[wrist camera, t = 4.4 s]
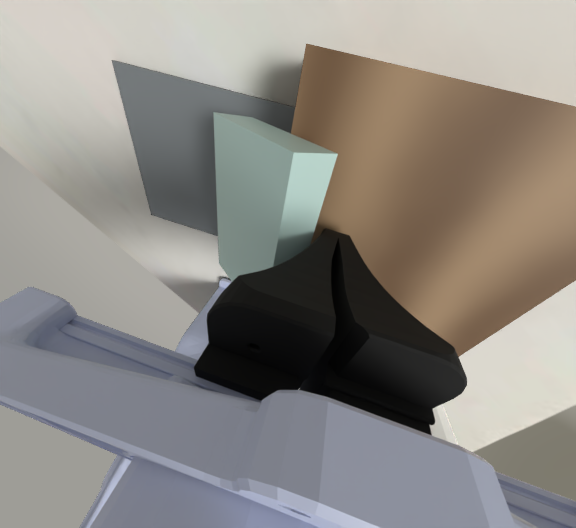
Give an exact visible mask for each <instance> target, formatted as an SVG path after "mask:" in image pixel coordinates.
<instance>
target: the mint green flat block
mask: <svg viewBox="0 0 576 528" xmlns="http://www.w3.org/2000/svg"><path fill="white" fill-rule="evenodd" d="M213 115H214V142H215V169H216V196H217V223H218V250H219V264H220V265H221V267H222V268H223V269H224V271H225V272H226V274H227V275H228V277H229V278H230V280H231V281H233V280H234V279H235V278H237V277H238V276H239V275H244V274H248V273H253V272H258V271H262V270H265V269H268V268H271V267H274V266H276V265H279V264H281V263H283V262H285V261H287V260H289V259H291V258H293V257H294V256H296V255H298V254H299V253H300V252H302V251H303V250H304V249H306V248H307V247H308V246H309V245H310V244H311V241H312V237H313V234H314V231H315V227H316V224H317V221H318V218H319V214H320V211H321V208H322V204H323V201H324V198H325V195H326V191H327V188H328V185H329V181H330V178H331V175H332V172H333V168H334V165H335V162H336V158H337V155H338V154H337V153H335V152H333V151H330V150H328V149H326V148H323V147H321V146H319V145H316V144H314V143H311V142H309V141H307V140H304V139H302V138H300V137H297V136H295V135H293V134H290V133H288V132H286V131H283V130H281V129H279V128H276V127H274V126H272V125H269V124H267V123H265V122H262V121H260V120H258V119H255V118H253V117H247V116H239V115H232V114H224V113H216V112H213Z"/></svg>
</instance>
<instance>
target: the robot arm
mask: <svg viewBox="0 0 576 528" xmlns="http://www.w3.org/2000/svg"><path fill="white" fill-rule="evenodd" d="M466 386H467V377H466V375H465V373H464V370H463V368H462V365H461V363H460V360H459V358H458V355H457V353H456V350H455V348H454V347H453V346H452V345H451V344H449V343H448V342H447V341H445V340H444V339H442V338H441V337H440V336H438V335H437V334H436V333H434V332H433V331H432V330H430V329H429V328H427V327H426V326H425V325H424V324H422V323H421V322H420V321H419V320H417V319H416V318H415V317H414V316H413V315H411V314H410V313H409V312H408V311H407V310H406V309H405V308H403V307H402V306H401V305H400V304H399V303H398V302H397V301H396V300H395V299H394V298H393V297H392V296H391V295H390V294H389V293H388V292H387V291H386V290H385V289H384V287H383V286H382V285H381V284H380V283H379V281H378V280H377V279H376V278H375V277H374V275H373V274H372V273H371V271H370V270H369V268H368V267H367V265H366V264H365V262H364V261H363V259H362V257H361V256H360V254H359V252H358V250H357V249H356V247H355V245H354V243H353V241H352V239H351V237H350V235H347V234H343V233H340V232H337V231H334V230H330V229H327V228H325V229H323V231H322V233H321V234H320V236H319V237H318V238H317V239H316V240H315V241H314V242H313V243H312V244H311V245H309V246H308V247H307V248H306V249H304V250H303V251H302V252H300V253H299V254H298V255H296V256H294V257H293V258H291V259H289V260H287V261H285V262H283V263H281V264H279V265H276V266H274V267H271V268H268V269H265V270H262V271H258V272H253V273H248V274H244V275H239V276H238V277H237V278H235V279H234V280H233V281H231V280H228V279H225V278H222V279H221V280H220V281H219V288H218V289H217V290H216V292H215V293H214V294H213V296H212V297H211V298H210V300H209V301H208V302H207V304H206V305H205V306H204V308H203V309H202V310H201V312H200V313H199V314H198V316H197V317H196V319H195V320H194V321H193V322H192V324H191V325H190V327H189V328H188V329H187V331H186V332H185V334H184V335H183V337H182V338H181V341H180V342H179V344H178V346H177V348H176V350H175V351H172V350H169V349H167V348H164V347H161V346H158V345H156V344H153V343H150V342H147V341H145V340H142V339H140V338H137V337H134V336H132V335H129V334H126V333H123V332H121V331H118V330H116V329H113V328H110V327H108V326H105V325H102V324H99V323H97V322H94V321H92V320H89V319H86V318H83V317H81V316H78V315H77V313H76V311H75V309H74V308H73V306H72V305H70V303H69V302H67V301H66V300H64V299H63V298H61V297H59V296H56V295H53V294H50V293H48V292H45V291H42V290H40V289H37V288H34V287H27V288H25V289H24V290H22V291H20V292H19V293H17V294H15V295H13V296H11V297H10V298H8V299H6V300H4V301H2V302H0V405H2V406H5V407H7V408H10V409H12V410H14V411H17V412H19V413H21V414H24V415H26V416H28V417H31V418H33V419H35V420H38V421H40V422H42V423H45V424H47V425H49V426H52V427H54V428H56V429H59V430H61V431H64V432H66V433H68V434H71V435H73V436H75V437H77V438H80V439H82V440H84V441H87V442H89V443H92V444H93V445H96V446H98V447H100V448H103V449H105V450H107V451H110V452H112V453H115V454H117V457H116V458H115V460H114V462H113V463H112V465H111V467H110V469H109V471H108V472H107V474H106V476H105V479H104V480H103V483H102V486H101V491H100V492H99V494H98V496H97V498H96V499H95V501H94V503H93V505H92V506H91V508H90V510H89V512H88V513H87V515H86V517H85V519H84V520H83V522H82V524H81V525H80V527H79V528H576V501H574V500H571V499H568V498H566V497H563V496H560V495H558V494H555V493H552V492H550V491H547V490H544V489H541V488H539V487H536V486H534V485H531V484H528V483H525V482H523V481H520V480H518V479H515V478H512V477H509V476H507V475H504V474H502V473H499V472H496V471H494V468H493V466H492V465H490V464H489V463H488V462H487V461H485V460H484V459H483V458H482V457H480V456H478V455H476V454H474V453H472V452H470V451H468V450H467V449H465V448H463V447H461V446H459V445H456V444H453V443H451V442H448V441H445V440H442V439H440V438H437V437H434V436H432V434H431V429H430V425H434V424H435V417H434V413H433V408H435V407H437V406H439V405H441V404H443V403H445V402H447V401H450V400H452V399H454V398H455V397H457V396H458V395H460V394H461V393H462V392H463V391H464V389H465V387H466ZM299 388H300V389H299ZM298 389H299V390H298Z"/></svg>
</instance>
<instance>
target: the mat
mask: <svg viewBox="0 0 576 528" xmlns="http://www.w3.org/2000/svg"><path fill="white" fill-rule="evenodd" d="M112 63H113V67H114V71H115V75H116V78H117V82H118V86H119V90H120V94H121V98H122V102H123V106H124V110H125V114H126V118H127V121H128V125H129V129H130V133H131V137H132V141H133V145H134V149H135V153H136V157H137V161H138V164H139V168H140V172H141V176H142V180H143V184H144V188H145V192H146V196H147V200H148V204H149V208H150V211H151V215H153V216H157V217H160V218H163V219H166V220H169V221H172V222H175V223H178V224H182V225H185V226H188V227H191V228H194V229H197V230H200V231H204V232H207V233H210V234H213V235H216V236H218V223H217V196H216V169H215V142H214V115H213V112H216V113H224V114H232V115H239V116H247V117H253V118H255V119H258V120H260V121H262V122H265V123H267V124H269V125H272V126H274V127H276V128H279V129H281V130H283V131H286V132H288V133H290V134H291V130H292V124H293V118H294V112H295V107H291V106H288V105H284V104H280V103H276V102H272V101H268V100H265V99H261V98H257V97H253V96H249V95H245V94H241V93H238V92H234V91H230V90H226V89H222V88H218V87H214V86H211V85H207V84H203V83H199V82H195V81H191V80H188V79H184V78H180V77H176V76H172V75H168V74H164V73H161V72H157V71H153V70H149V69H145V68H141V67H137V66H134V65H130V64H126V63H122V62H118V61H113V60H112Z"/></svg>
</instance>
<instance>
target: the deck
mask: <svg viewBox="0 0 576 528" xmlns="http://www.w3.org/2000/svg"><path fill="white" fill-rule="evenodd" d="M291 134H293V135H295V136H297V137H300V138H302V139H304V140H307V141H309V142H311V143H314V144H316V145H319V146H321V147H323V148H326V149H328V150H330V151H333V152H335V153H337V154H338V155H337V158H336V162H335V165H334V168H333V172H332V175H331V178H330V181H329V185H328V188H327V191H326V195H325V198H324V201H323V204H322V208H321V211H320V214H319V218H318V221H317V224H316V227H315V231H314V234H313V237H312V241H311V244H312V243H313V242H314V241H315V240H316V239H317V238H318V237H319V236H320V234H321V233H322V231H323V229H325V228H327V229H330V230H334V231H337V232H340V233H343V234H347V235H350V237H351V239H352V241H353V243H354V245H355V247H356V249H357V250H358V252H359V254H360V256H361V257H362V259H363V261H364V262H365V264H366V265H367V267H368V268H369V270H370V271H371V273H372V274H373V275H374V277H375V278H376V279H377V280H378V281H379V283H380V284H381V285H382V286H383V287H384V289H385V290H386V291H387V292H388V293H389V294H390V295H391V296H392V297H393V298H394V299H395V300H396V301H397V302H398V303H399V304H400V305H401V306H402V307H403V308H405V309H406V310H407V311H408V312H409V313H410V314H411V315H413V316H414V317H415V318H416V319H417V320H419V321H420V322H421V323H422V324H424V325H425V326H426V327H427V328H429V329H430V330H432V331H433V332H434V333H436V334H437V335H438V336H440V337H441V338H442V339H444V340H445V341H447V342H448V343H449V344H451V345H452V346H453V347H454V348H455V350H456V353H457V355H458V357H459V356H460V355H462V354H463V353H465V352H466V351H468V350H470V349H471V348H473V347H474V346H476V345H477V344H479V343H480V342H482V341H483V340H485V339H486V338H488V337H489V336H491V335H493V334H494V333H496V332H497V331H499V330H500V329H502V328H503V327H505V326H506V325H508V324H509V323H511V322H512V321H514V320H515V319H517V318H519V317H520V316H522V315H523V314H525V313H526V312H528V311H529V310H531V309H532V308H534V307H535V306H537V305H538V304H540V303H542V302H543V301H545V300H546V299H548V298H549V297H551V296H552V295H554V294H555V293H557V292H558V291H560V290H561V289H563V288H564V287H566V286H568V285H569V284H571V283H572V282H574V281H575V280H576V107H575V106H570V105H566V104H562V103H558V102H553V101H549V100H545V99H541V98H536V97H532V96H528V95H523V94H519V93H515V92H511V91H506V90H502V89H498V88H494V87H489V86H485V85H481V84H476V83H472V82H468V81H464V80H459V79H455V78H451V77H447V76H442V75H438V74H434V73H430V72H425V71H421V70H417V69H412V68H408V67H404V66H400V65H395V64H391V63H387V62H383V61H378V60H374V59H370V58H365V57H361V56H357V55H353V54H348V53H344V52H340V51H336V50H331V49H327V48H323V47H319V46H314V45H310V44H306V48H305V54H304V60H303V66H302V72H301V77H300V83H299V89H298V95H297V101H296V107H295V112H294V118H293V124H292V130H291ZM311 244H310V245H311Z"/></svg>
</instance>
